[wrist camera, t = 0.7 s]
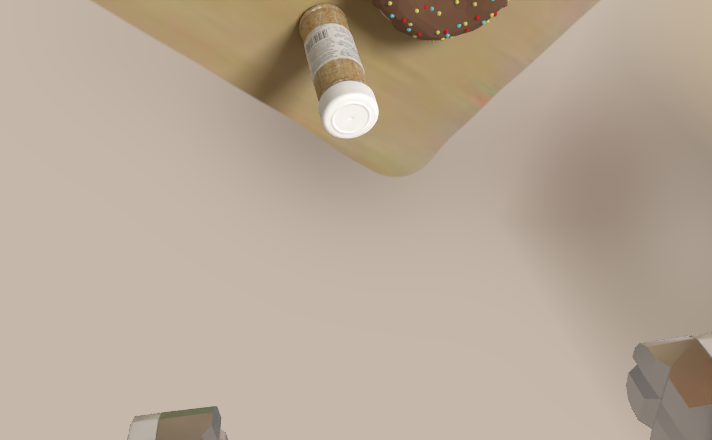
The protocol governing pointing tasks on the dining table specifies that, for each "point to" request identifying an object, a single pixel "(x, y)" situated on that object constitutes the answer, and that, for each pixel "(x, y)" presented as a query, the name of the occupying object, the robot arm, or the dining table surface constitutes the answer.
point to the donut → (438, 16)
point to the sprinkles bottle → (337, 73)
